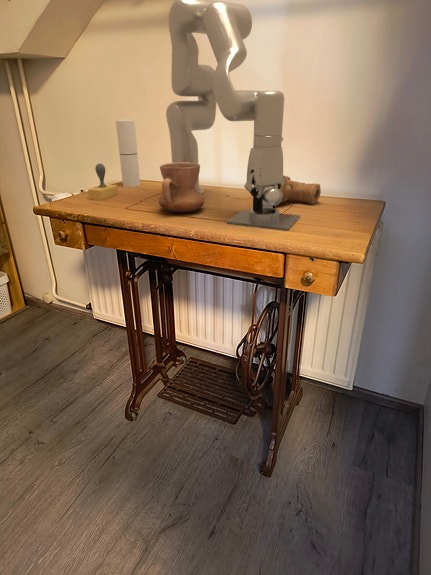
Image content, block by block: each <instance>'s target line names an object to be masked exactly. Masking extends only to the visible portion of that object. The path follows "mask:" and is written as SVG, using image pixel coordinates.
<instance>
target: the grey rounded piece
mask: <svg viewBox="0 0 431 575" xmlns="http://www.w3.org/2000/svg"><path fill="white" fill-rule="evenodd" d="M256 191H258V188H257V190H256ZM282 197H283V194H282V191H281V190H279V189H275V188H274V185H270V186H264V187H263V189H262V193H261V198H262V211H261V212H258V211H256V213H259V214H271V213H272V212H273V205H275V206H276V207H277V206H278V205H280V204H281V203H280V202H281V201H282Z"/></svg>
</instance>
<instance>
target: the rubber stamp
mask: <svg viewBox="0 0 431 575" xmlns="http://www.w3.org/2000/svg"><path fill="white" fill-rule="evenodd" d="M94 169H95V173H96V175H97V177H98V179H99V182H100V184H99V185H97V186H95V187H94V186H93V187H90V188H88V189H87V191H88V192H87V193H88V197H89V198H88V200H92V199H94V201H104V200H106V199H110V198H112V197H116V196H118V195H119V188H118V185H117V184H110V183H109V184H108V183H105V176H106V167H105V166H104V164H103V163H101V162H100V163H97V164H96V165H95V168H94Z"/></svg>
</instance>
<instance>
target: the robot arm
mask: <svg viewBox="0 0 431 575" xmlns="http://www.w3.org/2000/svg"><path fill="white" fill-rule="evenodd" d="M169 8H170V9H169V12H168V30H169V32H168V33H169V36H170V42H171V90H172V92H173V93H174V94H175V95H176V96H179V97H193V98H194V97H197V100H176V101H173V102H171V103H170V104H169V105H168V106H167V108H166V112H165V118H166V122H167V127H168V132H169V139H170V150H171V151H170V153H171V154H170V155H171V163H176V162H190V163H191V164H192V163H198V164H199V148H198V147H199V146H198V141H197V139H196V137H195V135H194V134H193V131H194V132H195V131H204V130H209V129H212V127H213V126H214V124H215V122H216V121H215V120H216V115H217V106H218V108H219V112H220V113H221V115H222V117H223V118H225V119H226V120H227V121H229V122H253V143H252V144H253V145H252V146H253V147H251V148H250V150H249V156H248V160H247V170H246V182H245V184H244V187H243V188H245V189H246V190H247V191H248V193H250V194H251V195H250V196H251V197H252V209H253V210H255V211H258V212H261V211H262V198H261V193H262V189H263V187H264V186H270V185H274V188H275V189H280V188H281V186H282V185H283V184H284V182H285V179H284V177H283V175H284V153H283V152H284V151H283V147H282V142H283V140H284V138H283V124H284V110H285V95H284V93H283V92H282V91H280V90H279V91H278V90H248V89H247V90H246V89H242V90H238V89H237V90H235V88H234V86H233V82H232V80H231V76H230V72H233V71H234V70H236V69H237V68H239V67H240V66H241V65H242V64H243V63H244V62H245V60H246V58H247V54H248V52H247V48H246V46H245V42H244V40H245V39H247V38H248V37H249V35H250V34H251V31H252V26H253V18H252V15H251V12H250V10H249V9H248V7H246V6H245V4H241V3H234V2H229V1H228V2H227V1H222V0H221V1H217V0H174V1H173V2H172V4H171V5H170V7H169ZM194 33H196V34H202V35H203V34H204V35H206V36H207V38H208V42H209V44H210V48H211V50H212V51H213V52H212V53H213V54H214V58H215V60H216V62H217V65H216V68H215V69H214V67H212V66H211V65H209V64H199V53H200V52H199V50H200V49H199V45H198V43H197V39H196V38H195V36H194ZM199 178H200V176H198V179H197V182H196V184H195V187H194V189H195V190H196V191H198V192H199V193H201V194H202V195H203V196H204V190H203V189H200V180H199ZM257 188H258V191H257ZM273 209H277V205H276V206H275V205H273Z"/></svg>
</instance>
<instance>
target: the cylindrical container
mask: <svg viewBox="0 0 431 575" xmlns="http://www.w3.org/2000/svg"><path fill="white" fill-rule="evenodd" d="M115 126H116V133H117V134H116V135H117V143H118V152H119V154H118V155H119V162H120V170H121V179H122V186H123V187H125V188H126V187H127V188H129V187H131V188H132V187H134V188H135V187H138V186H141V176H140V167H139V166H140V165H139V156H138V155H139V154H138V144H137V136H136V123H135V119H116V120H115Z"/></svg>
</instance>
